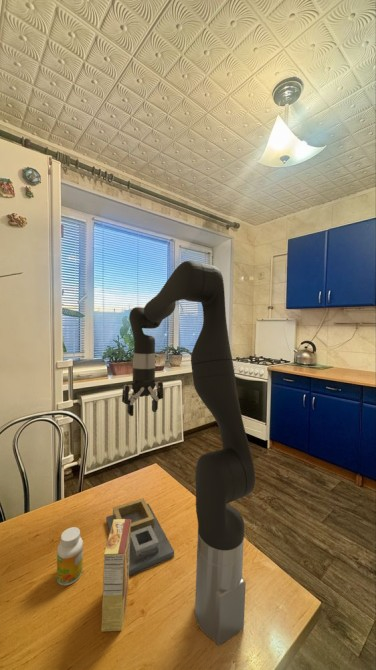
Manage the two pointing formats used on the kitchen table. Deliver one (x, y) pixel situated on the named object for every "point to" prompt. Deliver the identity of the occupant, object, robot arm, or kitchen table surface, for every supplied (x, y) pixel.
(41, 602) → the kitchen table surface
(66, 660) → the kitchen table surface
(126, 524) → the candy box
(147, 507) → the fitting plate
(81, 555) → the supplement bottle
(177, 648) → the kitchen table surface
